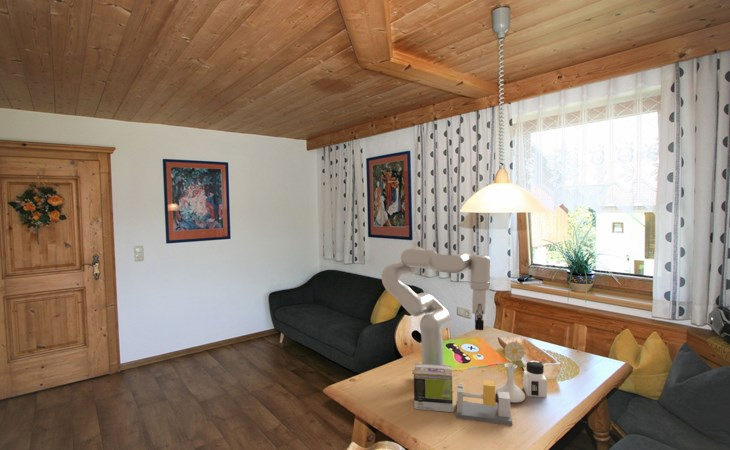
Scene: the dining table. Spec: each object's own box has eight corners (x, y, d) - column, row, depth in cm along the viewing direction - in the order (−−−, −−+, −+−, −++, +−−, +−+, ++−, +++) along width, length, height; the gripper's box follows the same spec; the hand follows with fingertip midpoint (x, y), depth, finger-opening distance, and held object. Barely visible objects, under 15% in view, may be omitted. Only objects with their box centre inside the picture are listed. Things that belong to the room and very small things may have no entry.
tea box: (452, 400, 154) (452, 365, 153) (452, 413, 144) (452, 376, 144) (415, 396, 157) (415, 362, 156) (413, 409, 147) (413, 372, 147)
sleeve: (483, 404, 141) (483, 385, 141) (483, 399, 145) (483, 380, 145) (494, 406, 140) (494, 386, 140) (494, 400, 144) (494, 381, 144)
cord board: (455, 417, 141) (455, 393, 141) (456, 404, 151) (456, 381, 150) (512, 425, 136) (512, 399, 136) (509, 410, 146) (509, 386, 145)
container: (546, 398, 155) (547, 367, 154) (527, 396, 156) (527, 366, 156) (542, 389, 162) (542, 359, 162) (523, 387, 164) (523, 358, 163)
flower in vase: (489, 394, 158) (490, 336, 157) (510, 389, 163) (511, 332, 161) (513, 410, 146) (513, 347, 145) (534, 403, 151) (535, 342, 149)
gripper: (470, 280, 164) (469, 318, 165) (470, 289, 147) (469, 332, 148) (488, 281, 162) (487, 320, 163) (490, 290, 145) (489, 333, 146)
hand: (479, 325), depth 156 cm, fingers open, 9 cm apart
